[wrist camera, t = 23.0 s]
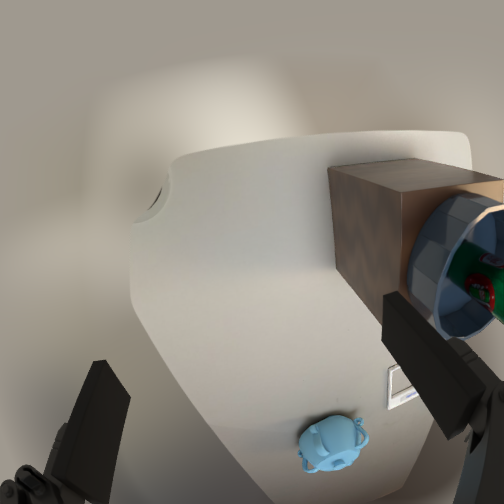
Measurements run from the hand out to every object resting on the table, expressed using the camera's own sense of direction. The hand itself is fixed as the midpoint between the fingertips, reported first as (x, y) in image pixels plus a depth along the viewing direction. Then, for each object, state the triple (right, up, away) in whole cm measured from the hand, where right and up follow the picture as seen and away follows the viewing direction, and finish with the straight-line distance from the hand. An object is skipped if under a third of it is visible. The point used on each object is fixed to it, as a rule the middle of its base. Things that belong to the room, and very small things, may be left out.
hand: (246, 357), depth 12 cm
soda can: (+23, +4, +14) cm, 28 cm away
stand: (+21, +11, +33) cm, 41 cm away
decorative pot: (+20, -42, +54) cm, 71 cm away
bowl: (+23, +4, +15) cm, 28 cm away
